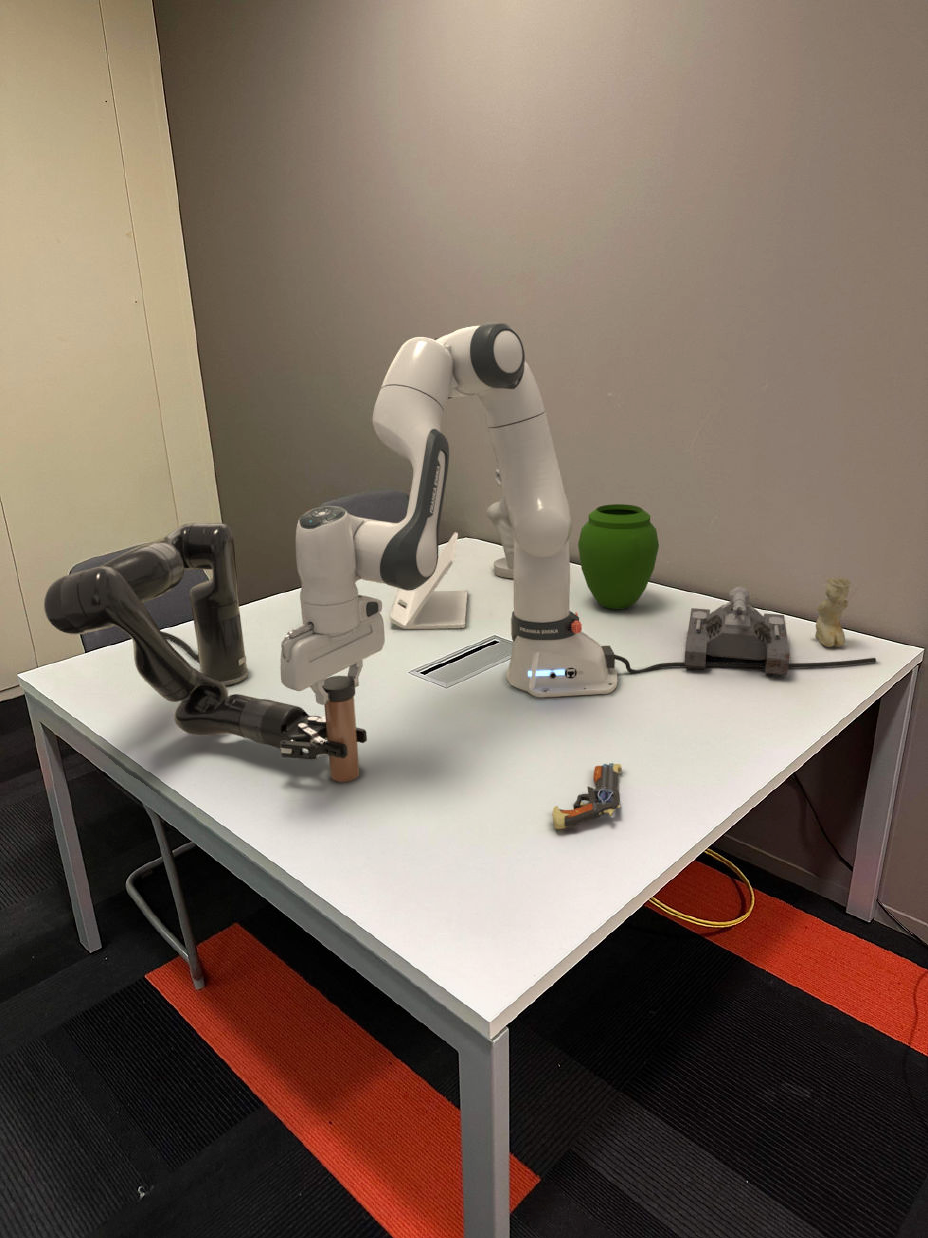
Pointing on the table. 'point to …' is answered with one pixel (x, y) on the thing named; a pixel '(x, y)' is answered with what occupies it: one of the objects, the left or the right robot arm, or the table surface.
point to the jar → (342, 738)
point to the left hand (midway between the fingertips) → (355, 744)
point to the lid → (339, 687)
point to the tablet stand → (432, 600)
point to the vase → (618, 554)
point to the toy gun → (593, 799)
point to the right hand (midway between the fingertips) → (338, 694)
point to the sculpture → (832, 613)
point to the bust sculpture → (502, 534)
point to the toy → (737, 635)
